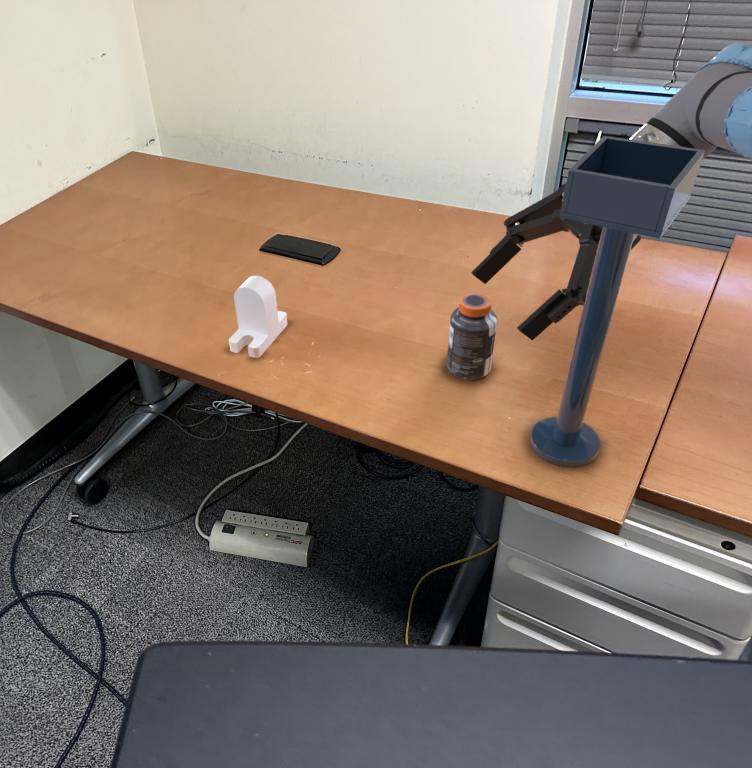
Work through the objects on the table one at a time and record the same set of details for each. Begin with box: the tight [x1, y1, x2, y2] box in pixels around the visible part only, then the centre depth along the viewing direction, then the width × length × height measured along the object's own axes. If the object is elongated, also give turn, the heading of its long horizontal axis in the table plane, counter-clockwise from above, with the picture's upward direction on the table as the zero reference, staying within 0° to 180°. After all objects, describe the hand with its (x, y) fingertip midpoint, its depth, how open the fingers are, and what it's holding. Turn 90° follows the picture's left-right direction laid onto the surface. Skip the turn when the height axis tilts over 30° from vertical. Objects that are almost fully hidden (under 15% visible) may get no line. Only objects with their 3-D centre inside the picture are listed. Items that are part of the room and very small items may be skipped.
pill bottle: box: [446, 292, 498, 381], centre depth 92 cm, size 6×6×11 cm
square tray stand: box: [529, 135, 705, 468], centre depth 72 cm, size 8×8×36 cm
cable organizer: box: [228, 275, 288, 359], centre depth 104 cm, size 5×10×10 cm, turn 149°
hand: (499, 305), depth 90 cm, fingers open, 13 cm apart
